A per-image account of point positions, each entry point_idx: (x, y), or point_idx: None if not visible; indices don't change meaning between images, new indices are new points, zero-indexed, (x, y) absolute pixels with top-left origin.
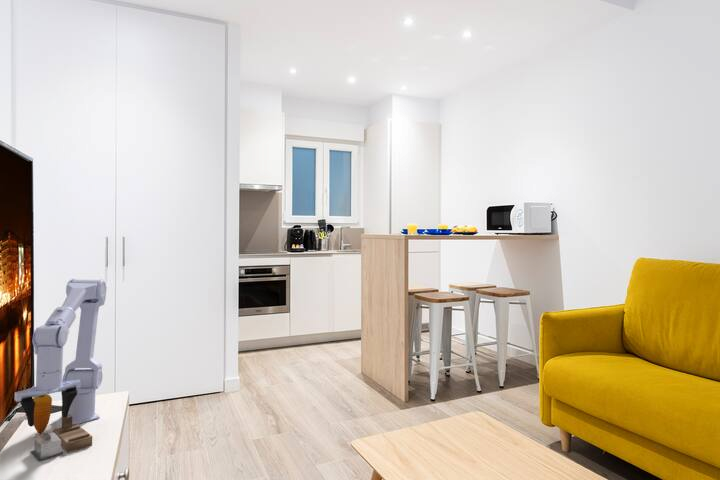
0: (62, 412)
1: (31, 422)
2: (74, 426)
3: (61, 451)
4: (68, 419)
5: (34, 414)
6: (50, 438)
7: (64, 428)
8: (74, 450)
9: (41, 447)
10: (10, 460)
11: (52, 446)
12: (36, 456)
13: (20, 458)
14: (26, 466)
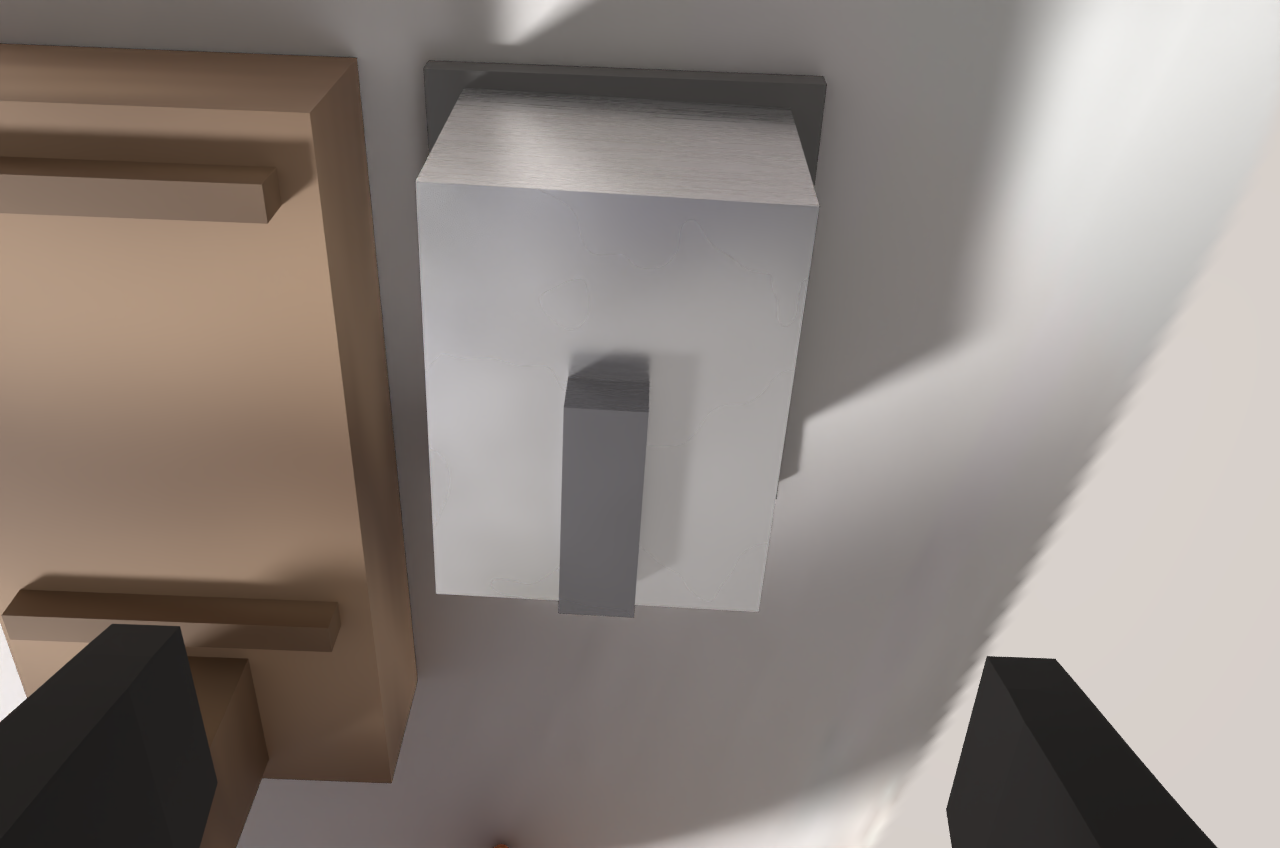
0: (170, 843)
1: (1099, 736)
2: None
3: None
4: None
5: None
6: (572, 381)
7: (241, 696)
8: (238, 54)
9: (804, 186)
10: (1055, 438)
11: (595, 159)
12: None
13: (943, 404)
14: (1024, 55)
